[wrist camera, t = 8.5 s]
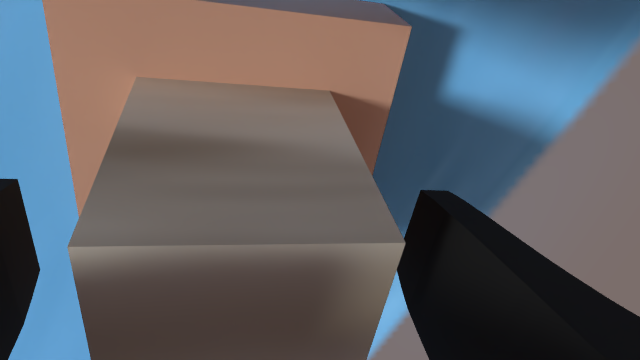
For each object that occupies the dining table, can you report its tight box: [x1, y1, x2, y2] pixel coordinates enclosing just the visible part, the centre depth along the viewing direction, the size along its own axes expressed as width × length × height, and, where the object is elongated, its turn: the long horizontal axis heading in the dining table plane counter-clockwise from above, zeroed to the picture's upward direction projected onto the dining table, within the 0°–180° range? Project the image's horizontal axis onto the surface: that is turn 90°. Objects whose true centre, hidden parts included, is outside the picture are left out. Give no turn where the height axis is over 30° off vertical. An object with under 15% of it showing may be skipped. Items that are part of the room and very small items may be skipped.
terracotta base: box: [42, 0, 412, 217], centre depth 11 cm, size 7×7×2 cm
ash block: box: [68, 77, 406, 360], centre depth 8 cm, size 4×4×5 cm
